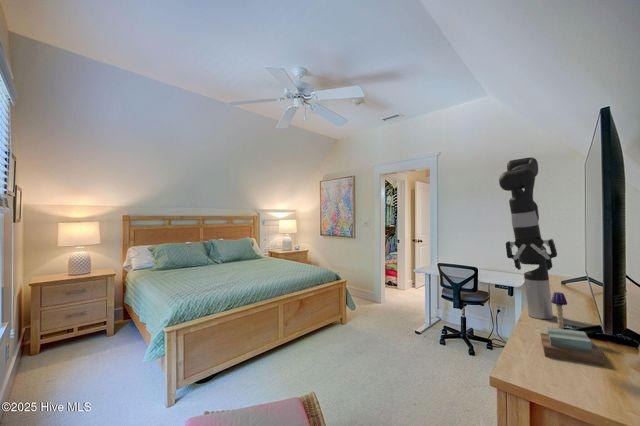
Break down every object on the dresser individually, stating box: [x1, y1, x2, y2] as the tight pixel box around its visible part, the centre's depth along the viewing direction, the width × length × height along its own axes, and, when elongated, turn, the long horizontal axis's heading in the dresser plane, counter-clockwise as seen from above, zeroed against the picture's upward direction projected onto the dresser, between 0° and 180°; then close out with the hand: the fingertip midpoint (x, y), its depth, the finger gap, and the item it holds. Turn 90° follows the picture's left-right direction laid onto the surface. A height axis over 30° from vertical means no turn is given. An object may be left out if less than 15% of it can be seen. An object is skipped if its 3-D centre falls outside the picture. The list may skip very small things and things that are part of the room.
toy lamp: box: [551, 291, 568, 329], centre depth 106 cm, size 5×5×17 cm
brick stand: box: [540, 327, 605, 367], centre depth 93 cm, size 14×14×6 cm
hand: (533, 269), depth 99 cm, fingers open, 8 cm apart
